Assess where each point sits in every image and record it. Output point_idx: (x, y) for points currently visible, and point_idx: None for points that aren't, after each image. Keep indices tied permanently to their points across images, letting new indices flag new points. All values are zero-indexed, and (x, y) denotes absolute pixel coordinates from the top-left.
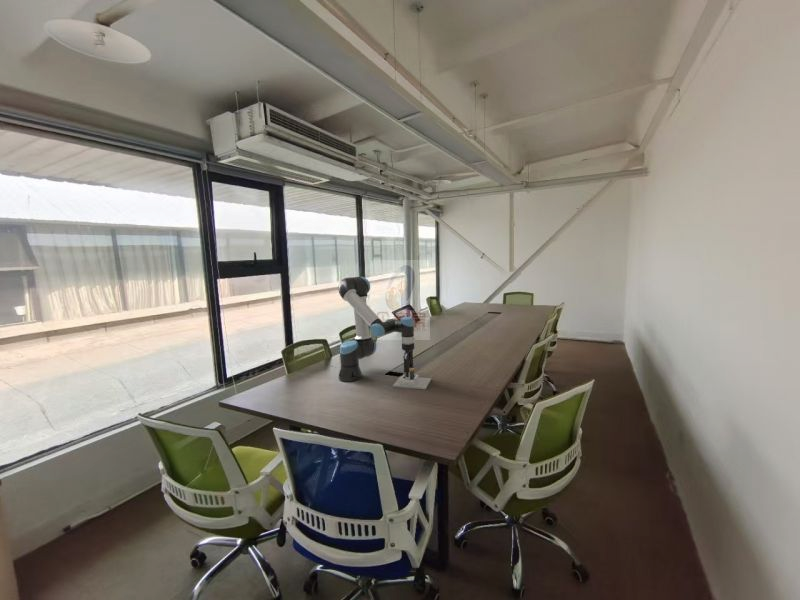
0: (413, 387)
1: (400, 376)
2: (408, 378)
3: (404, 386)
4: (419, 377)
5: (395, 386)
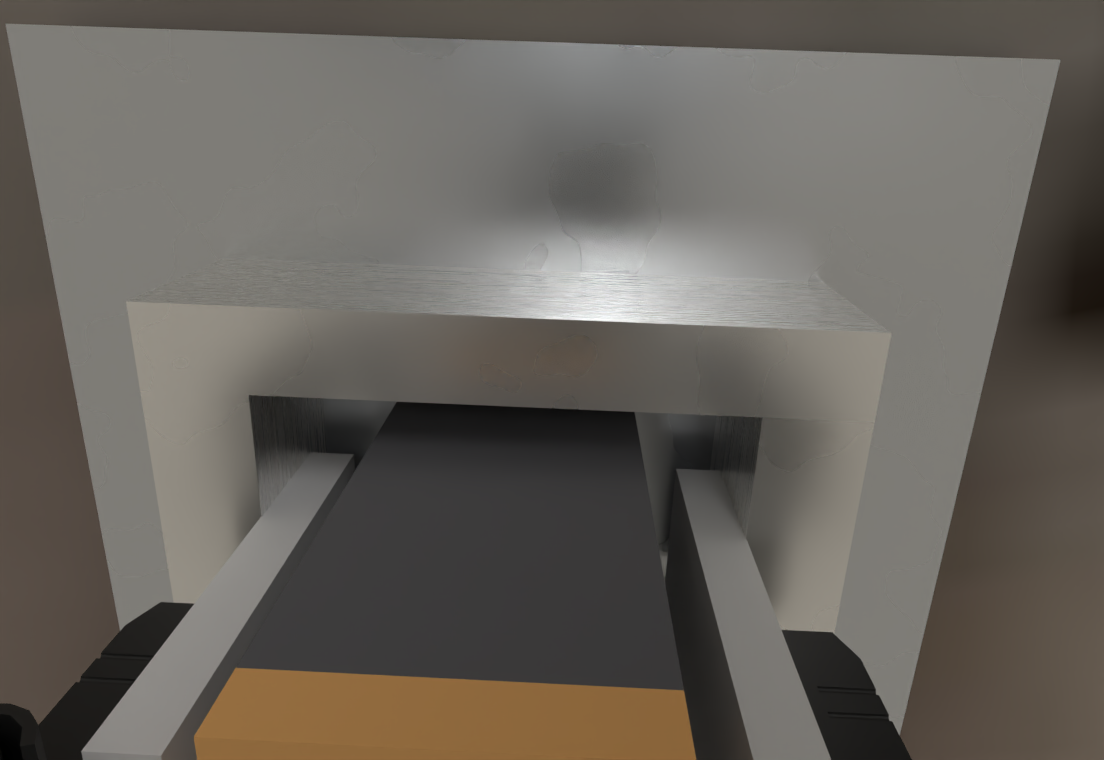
0: None
1: (1015, 77)
2: None
3: (92, 446)
4: (893, 723)
5: (49, 135)
